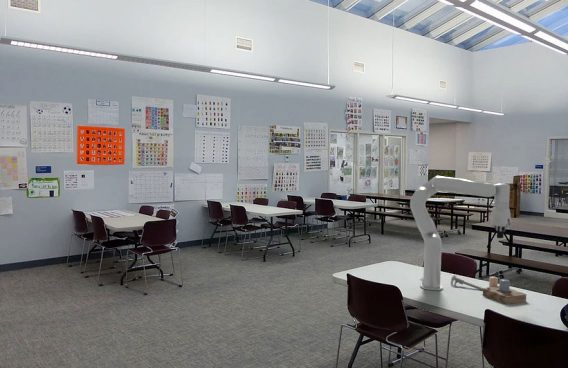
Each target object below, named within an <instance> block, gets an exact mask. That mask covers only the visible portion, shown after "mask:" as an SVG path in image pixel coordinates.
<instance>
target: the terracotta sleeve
mask: <svg viewBox="0 0 568 368" xmlns="http://www.w3.org/2000/svg"><path fill="white" fill-rule="evenodd" d="M498 283H499V278H498V277H497V276H489V283H488V285H489V286H488V287H497V286H499V284H498Z"/></svg>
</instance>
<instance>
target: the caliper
mask: <svg viewBox="0 0 568 368" xmlns="http://www.w3.org/2000/svg"><path fill="white" fill-rule="evenodd" d="M453 283H454V284H453ZM456 284H460V285H461V286H462V285H466V286H468V287H471V288H473V289H477V290H479V291H482V292H483V288H484V287H481V286H479V285H476V284H473V283H471V282H468V281H465V280H464V279H462V278H458V277H457V275H455V274H454V275H452V277H451V279H450V285H454V286H455V285H456Z"/></svg>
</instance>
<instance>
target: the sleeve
mask: <svg viewBox="0 0 568 368" xmlns="http://www.w3.org/2000/svg"><path fill="white" fill-rule="evenodd" d="M510 282H511V281H510V280H509V279H506V278H505V279H504V278H501V279H499V281H498V283H499V284H498V286H499V292H502V293H509V289H510V286H511V283H510Z"/></svg>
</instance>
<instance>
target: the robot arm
mask: <svg viewBox="0 0 568 368" xmlns="http://www.w3.org/2000/svg"><path fill="white" fill-rule="evenodd" d="M510 189H511V186H510V184H509V183H490V182H479V181H472V180H467V179H464V178H458V177H457V178H456V177H450V176H442V175H435V176H434V177H432V178H430V179H429V180H428V181H426V182H424V183H423V184H422V185H421V186H419V187H418V188H416V190H415V191H414V193H413V194H412V196H411V197H410V201H409V202H410V203H409V207H410V211H411V213H412V215H413V218H414V221H415V224H416V226H417V229H418V231H419V232H420V235H421V237H422V239H423V241H424V242H423V243H424V246H423V247H424V250H423V273H422V274H423V276H422V277H421V278H419V281H421V282H422V283H421V284H420V286H419V287H420V288H422V289H424V290H427V291H433V292H434V291H441V290H443V289H444V287H443V285H441V269H442V268H441V267H442V249H443V242H442V239H441V235H440V233H439V231H438V230H437V226H436V225H435V222H434V220H433V219H432V218H431V216H430V213H429V212H428V209H427V207H426V202H427V201H428V200H429V198H430V197H433V196H434V195H435V194H437V193H438V192H447V193H454V194H461V195H469V196H470V195H471V196H477V197H485V198H491V197H493V196H494V199H493V201H494V202H493V203H492V204H493V207H492V209H491V213H490V224H491V226H492V227H494V228H495V231H496V238H497V239H504V235H505V234H504V232H505V231H506V230H509V229H510V226H511V221H512V220H511V219H512V216H511V210H510V194H511V193H510V192H511V191H510Z"/></svg>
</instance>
